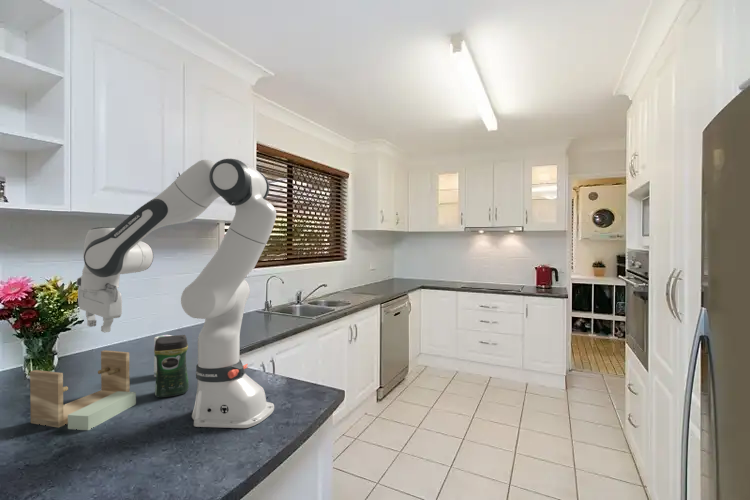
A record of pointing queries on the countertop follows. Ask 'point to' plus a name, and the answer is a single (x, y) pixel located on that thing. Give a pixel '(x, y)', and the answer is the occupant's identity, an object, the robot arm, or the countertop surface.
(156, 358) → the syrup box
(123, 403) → the shelf board
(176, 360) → the coffee jar
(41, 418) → the shelf unit
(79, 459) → the countertop surface
